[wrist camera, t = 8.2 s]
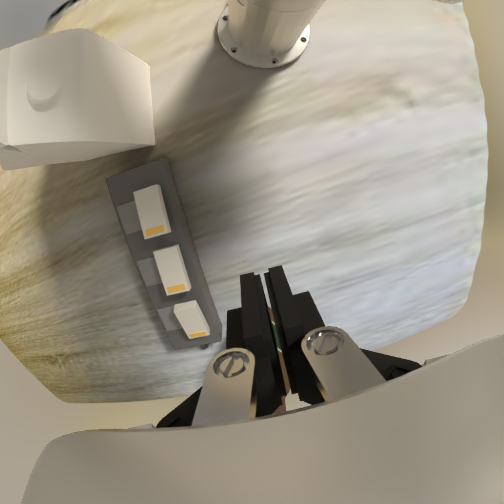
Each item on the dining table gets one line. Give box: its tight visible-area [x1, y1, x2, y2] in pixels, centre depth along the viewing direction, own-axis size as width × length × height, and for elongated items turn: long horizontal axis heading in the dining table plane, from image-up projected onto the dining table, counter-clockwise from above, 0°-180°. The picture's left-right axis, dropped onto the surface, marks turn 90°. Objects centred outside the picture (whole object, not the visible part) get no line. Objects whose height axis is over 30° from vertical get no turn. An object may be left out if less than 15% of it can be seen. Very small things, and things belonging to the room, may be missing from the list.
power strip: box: [106, 157, 222, 350], centre depth 40 cm, size 31×8×4 cm, turn 14°
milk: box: [0, 28, 155, 170], centre depth 21 cm, size 12×12×26 cm
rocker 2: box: [174, 300, 210, 339], centre depth 39 cm, size 6×3×2 cm, turn 15°
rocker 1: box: [133, 184, 171, 239], centre depth 33 cm, size 6×3×2 cm, turn 12°
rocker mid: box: [153, 244, 191, 296], centre depth 36 cm, size 6×3×2 cm, turn 13°
